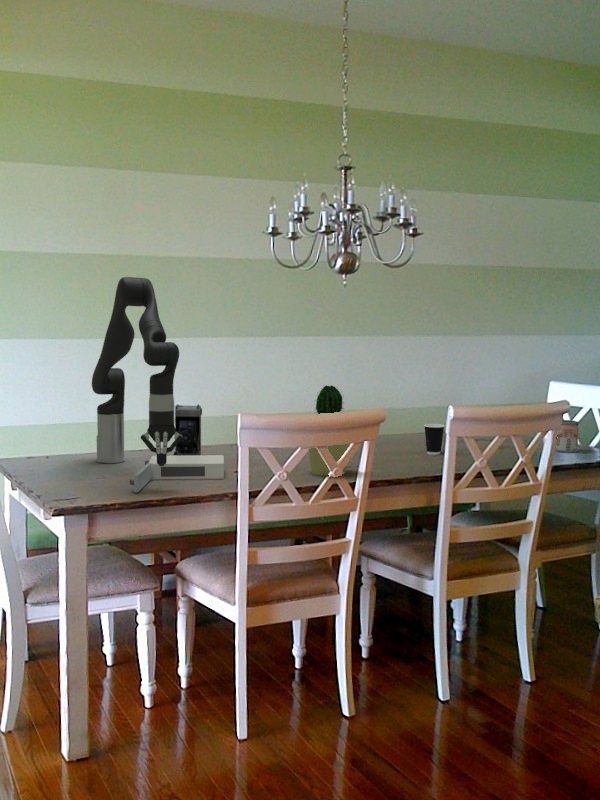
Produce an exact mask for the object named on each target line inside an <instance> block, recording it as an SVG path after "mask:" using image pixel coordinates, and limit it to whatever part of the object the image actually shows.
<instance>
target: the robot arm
mask: <svg viewBox="0 0 600 800" xmlns="http://www.w3.org/2000/svg"><path fill="white" fill-rule="evenodd" d="M127 307H144V310H143V312H142V314H141V316H140V318H139V321H138V328H139V329H138V330H139V332H140V336H141V339H142V341H143V360H144V362H145V363H146V364H147V365H149V366H152V367H163V366H165V367H164V369H163V370H162V371H161V372H158V373H154V374H152V375H150V377H149V399H148V428H147V430H146V432H145V433H143V434H141V436H140V440H142V442H143V443H144V444H145V446H146V447H147V449H149V450H150V452H151V453H155V454H156V456H157V464H159V466H164V464H166V462H167V456H168V455H167V454H168V453H171V452H172V451H173V450H174V449H175V448H176V445H177V444H178V443H179V442H180V440H181V439H182V435H181V434H179V433H177V432H176V428H175V406H176V405H175V396H174V379H175V372H176V369H177V367H178V363H179V359H180V349H179V347H178V345H177V344H176V343H175V342H171V341H170V342H169V341H168V342H167V334H166V332H165V329H164V326H163V324H162V322H161V319H160V316H159V315H160V314H159V310H158V303H157V299H156V294H155V289H154V285H153V283H152V281H151V280H150V279H149V278H146V277H138V276H136V277H133V276H123V277H121V278H120V279H119V280H118V283H117V286H116V290H115V296H114V302H113V308H112V312H111V316H110V319H109V322H108V327H107V329H106V333H105V337H104V341H103V344H102V348H101V353H100V356H99V359H98V361H97V363H96V365H95V368H94V370H93V373H92V377H91V388H92V390H93V393H95V395H111V398H109V399H108V400H106V401H105V402H103V403H101V404H99V405H98V406H97V408H96V413H97V414H96V415H97V417H96V418H97V419H96V420H97V421H96V422H97V424H96V426H97V435H96V463H101V464H116V463H123V462H125V420H124V419H125V415H124V413H125V411H124V410H125V388H126V380H125V379H126V377H125V372H124V370H123V369H121V368H120V367H115V368H114V366H115V365H116V364H117V363H118V362H120V361H121V360H122V359H123V358H125V357H126V355H128V353H129V352H131V349H132V346H133V343H134V340H135V329H134V326H133V325H132V323H131V321H130V319H129V317H128V316H127V313H126V309H127ZM173 436H174V437H173ZM150 438H151V439H152V441H154V442H155V446H154V444H153V443H152V442H151V441H150ZM172 438H173V439H174V440H173V441H172V443H171V444H170V446H169V447H168V442H170V440H171V439H172Z"/></svg>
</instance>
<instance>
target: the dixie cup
mask: <svg viewBox="0 0 600 800" xmlns="http://www.w3.org/2000/svg"><path fill="white" fill-rule="evenodd" d="M423 426H424V433H425V434H424V436H425V447H426V452H427V453H426V454H428V455H433V456H436V455H440V454H441V452H442V446H443V439H444V430H445V427H446V425H445V424H441V423H440V424H439V423H426V424H424V425H423Z"/></svg>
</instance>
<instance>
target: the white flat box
mask: <svg viewBox="0 0 600 800" xmlns="http://www.w3.org/2000/svg"><path fill="white" fill-rule="evenodd" d="M224 460H225V456H224V455H223V454H221V455H220V454H218V455H217V454H215V455H214V454H213V455H212V454H211V455H209V454H207V455H206V454H205V455H203V454H201V455H185V456H176V455H167V462H166V464H164V466H159V464H157V455H152V456H151V458H150V460H145V461H144V466H145V465H146V464H149V463H153V479H151V480H224V479H225V477H224V476H225V475H224V473H225V467H224V466H225V465H224ZM151 480H150V481H151Z"/></svg>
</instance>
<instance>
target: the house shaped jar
mask: <svg viewBox="0 0 600 800" xmlns="http://www.w3.org/2000/svg"><path fill="white" fill-rule="evenodd" d="M561 420H562V424H561V426H560V429H559V432H558V438H557V445H556V444H555V450H556V451H557V452H559V453H565V454H573V453H574V454H575V453H577V451H578V449H579V424H580V422H579V421H577V420H571V419H561Z"/></svg>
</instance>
